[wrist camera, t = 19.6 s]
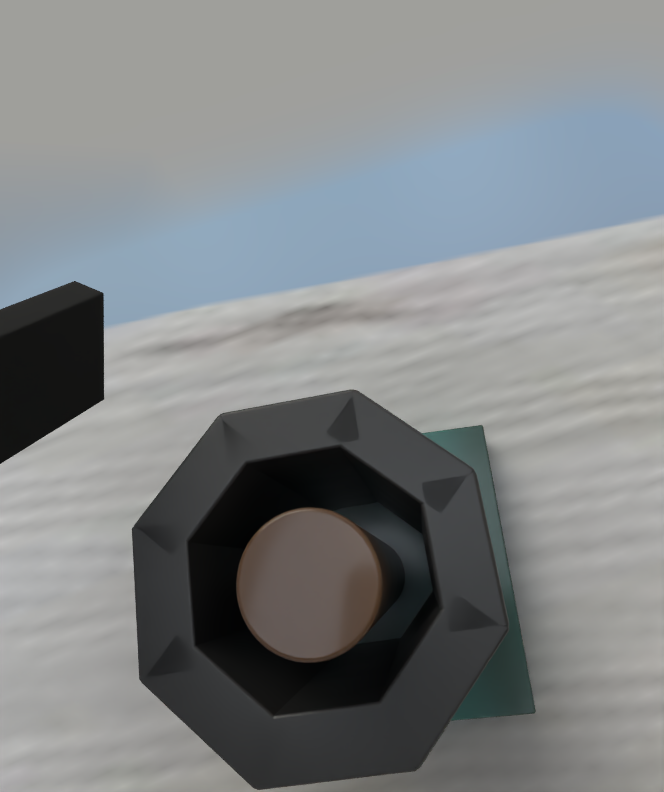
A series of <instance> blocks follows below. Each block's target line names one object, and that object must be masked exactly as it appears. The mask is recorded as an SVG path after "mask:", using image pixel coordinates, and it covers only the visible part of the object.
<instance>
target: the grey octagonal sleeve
mask: <svg viewBox="0 0 664 792" xmlns="http://www.w3.org/2000/svg"><path fill="white" fill-rule="evenodd" d="M377 502H379V503H380V504H381V505H383V506H384V507H385V508H387V509H388V510H390V511H391V512H392V513H394V514H395V515H397V516H398V517H399V518H401V519H402V520H403V521H405V522H406V523H408V524H409V525H410V526H412V527H413V528H415V529H416V530H417V531H419V532H420V533H421V534H423V540H424V545H425V550H426V556H427V561H428V566H429V572H430V577H431V583H432V588H433V591H432V593H431V594H430V596H429V597H428V599H427V600H426V602H425V603H424V605H423V606H422V607H421V609H420V610H419V612H418V613H417V615H416V616H415V618H414V619H413V621H412V622H411V624H410V625H409V627H408V628H407V630H406V631H405V633H404V634H403V636H402V637H401V638H396V639H389V640H382V641H375V642H368V643H361V644H356V645H355V646H354V647H353V648H352V649H350V650H349V651H347V652H346V653H344V654H342V655H340V656H338V657H336V658H333V659H330V660H327V661H323V662H317V663H302V662H295V661H291V660H287V659H285V658H282V657H280V656H278V655H276V654H274V653H273V652H271V651H269V650H268V649H267V648H265V647H264V646H263V645H262V644H261V643H260V642H259V641H258V640H257V639H256V638H255V637H254V636H253V634H252V633H251V632H250V630H249V629H248V627H247V625H246V623H245V621H244V620H243V617H242V614H241V612H240V609H239V605H238V600H237V592H236V579H237V571H238V567H239V563H240V560H241V557H242V554H243V552H244V550H245V548H246V546H247V544H248V542H249V541H250V540H251V538H252V537H253V535H254V534H255V533H256V532H257V531H258V530H259V529H260V528H261V527H262V526H263V525H264V524H265V523H266V522H268V521H269V520H271V519H272V518H274V517H275V516H277V515H279V514H281V513H283V512H286V511H289V510H292V509H298V508H306V507H314V508H323V509H327V510H335V509H341V508H347V507H353V506H359V505H365V504H371V503H377ZM132 539H133V559H134V580H135V600H136V620H137V640H138V660H139V679H140V680H141V682H142V683H143V684H144V685H145V686H146V687H147V688H148V689H149V690H150V691H151V692H152V693H153V694H154V695H155V696H156V697H158V698H159V699H160V700H161V701H162V702H163V703H164V704H165V705H166V706H167V707H168V708H169V709H170V710H171V711H172V712H173V713H174V714H176V715H177V716H178V717H179V718H180V719H181V720H182V721H183V722H184V723H185V724H186V725H187V726H188V727H189V728H190V729H191V730H192V731H194V732H195V733H196V734H197V735H198V736H199V737H200V738H201V739H202V740H203V741H204V742H205V743H206V744H207V745H208V746H209V747H210V748H212V749H213V750H214V751H215V752H216V753H217V754H218V755H219V756H220V757H221V758H222V759H223V760H224V761H225V762H226V763H227V764H228V765H230V766H231V767H232V768H233V769H234V770H235V771H236V772H237V773H238V774H239V775H240V776H241V777H242V778H243V779H244V780H245V781H246V782H248V783H249V784H250V785H251V786H252V787H253V788H255V789H257V790H263V789H271V788H279V787H288V786H296V785H304V784H312V783H321V782H329V781H337V780H345V779H354V778H362V777H370V776H378V775H387V774H395V773H403V772H411V771H416V770H417V769H419V768H420V767H421V765H422V764H423V762H424V761H425V759H426V758H427V756H428V755H429V753H430V752H431V750H432V748H433V747H434V745H435V744H436V742H437V741H438V739H439V738H440V736H441V735H442V733H443V731H444V730H445V728H446V727H447V725H448V724H449V722H450V721H451V719H452V718H453V716H454V715H455V713H456V711H457V710H458V708H459V707H460V705H461V704H462V702H463V701H464V699H465V698H466V696H467V694H468V693H469V691H470V690H471V688H472V687H473V685H474V684H475V682H476V681H477V679H478V678H479V676H480V674H481V673H482V671H483V670H484V668H485V667H486V665H487V664H488V662H489V661H490V659H491V658H492V656H493V654H494V653H495V651H496V650H497V648H498V647H499V645H500V644H501V642H502V641H503V639H504V637H505V636H506V634H507V633H508V631H509V620H508V616H507V611H506V606H505V602H504V597H503V593H502V588H501V583H500V579H499V574H498V570H497V565H496V560H495V556H494V551H493V547H492V542H491V537H490V533H489V528H488V524H487V519H486V514H485V510H484V505H483V501H482V496H481V491H480V487H479V482H478V478H477V474H476V472H475V470H474V469H473V467H471V466H470V465H468V464H467V463H465V462H464V461H462V460H461V459H459V458H458V457H456V456H455V455H453V454H452V453H450V452H449V451H447V450H446V449H444V448H443V447H441V446H440V445H438V444H437V443H435V442H434V441H432V440H431V439H429V438H428V437H426V436H425V435H423V434H422V433H420V432H419V431H417V430H416V429H414V428H413V427H411V426H410V425H408V424H407V423H405V422H404V421H402V420H401V419H399V418H398V417H396V416H395V415H393V414H392V413H390V412H389V411H387V410H386V409H384V408H383V407H381V406H380V405H378V404H377V403H375V402H374V401H372V400H371V399H369V398H368V397H366V396H365V395H363V394H362V393H360V392H359V391H357V390H346V391H341V392H335V393H330V394H324V395H319V396H314V397H308V398H303V399H297V400H292V401H286V402H281V403H276V404H270V405H265V406H259V407H254V408H248V409H243V410H238V411H232V412H227V413H222V414H220V415H219V416H218V417H217V418H216V419H215V421H214V422H213V423H212V425H211V426H210V427H209V429H208V430H207V431H206V432H205V434H204V435H203V436H202V438H201V439H200V440H199V442H198V443H197V444H196V446H195V447H194V448H193V449H192V451H191V452H190V453H189V455H188V456H187V457H186V459H185V460H184V461H183V462H182V464H181V465H180V466H179V468H178V469H177V470H176V472H175V473H174V474H173V475H172V477H171V478H170V479H169V481H168V482H167V483H166V485H165V486H164V487H163V488H162V490H161V491H160V492H159V494H158V495H157V496H156V498H155V499H154V500H153V502H152V503H151V504H150V505H149V507H148V508H147V509H146V511H145V512H144V513H143V515H142V516H141V517H140V518H139V520H138V521H137V522H136V524H135V525H134V527H133V528H132Z"/></svg>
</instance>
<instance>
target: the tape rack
mask: <svg viewBox="0 0 664 792" xmlns="http://www.w3.org/2000/svg"><path fill="white" fill-rule="evenodd" d="M422 434H423V435H425V436H426V437H428V438H429V439H431V440H432V441H434V442H435V443H437V444H438V445H440V446H441V447H443V448H444V449H446V450H447V451H449V452H450V453H452V454H453V455H455V456H456V457H458V458H459V459H461V460H462V461H464V462H465V463H467V464H468V465H470V466H471V467H473V469H474V470H475V472H476V474H477V478H478V482H479V487H480V491H481V496H482V501H483V505H484V510H485V514H486V519H487V524H488V528H489V533H490V537H491V542H492V547H493V551H494V556H495V560H496V565H497V570H498V574H499V579H500V583H501V588H502V593H503V597H504V602H505V606H506V611H507V616H508V620H509V631H508V633H507V634H506V636H505V637H504V639H503V641H502V642H501V644H500V645H499V647H498V648H497V650H496V651H495V653H494V654H493V656H492V658H491V659H490V661H489V662H488V664H487V665H486V667H485V668H484V670H483V671H482V673H481V674H480V676H479V678H478V679H477V681H476V682H475V684H474V685H473V687H472V688H471V690H470V691H469V693H468V694H467V696H466V698H465V699H464V701H463V702H462V704H461V705H460V707H459V708H458V710H457V711H456V713H455V715H454V716H453V718H452V719H451V721H454V720H466V719H477V718H489V717H500V716H512V715H524V714H534V713H535V712H536V711H535V705H534V700H533V694H532V689H531V684H530V678H529V673H528V667H527V662H526V657H525V651H524V646H523V640H522V635H521V629H520V624H519V619H518V613H517V608H516V602H515V597H514V592H513V586H512V581H511V575H510V570H509V565H508V559H507V554H506V548H505V543H504V538H503V532H502V527H501V521H500V516H499V511H498V505H497V500H496V494H495V489H494V484H493V478H492V473H491V467H490V462H489V457H488V451H487V446H486V440H485V435H484V430H483V426H482V425H479V426H472V427H464V428H457V429H450V430H443V431H435V432H428V433H422ZM432 591H433V588H432V583H431V577H430V572H429V566H428V561H427V556H426V550H425V545H424V540H423V534H421V533H420V532H419V531H417V530H416V529H415V528H413V527H412V526H410V525H409V524H408V523H406V522H405V521H403V520H402V519H401V518H399V517H398V516H397V515H395V514H394V513H392V512H391V511H390V510H388V509H387V508H385V507H384V506H383V505H381V504H380V503H379V502H377V503H371V504H365V505H359V506H353V507H347V508H341V509H335V510H327V509H323V508H314V507H306V508H298V509H292V510H289V511H286V512H283V513H281V514H279V515H277V516H275V517H274V518H272V519H271V520H269V521H268V522H266V523H265V524H264V525H263V526H262V527H261V528H260V529H259V530H258V531H257V532H256V533H255V534H254V535H253V537H252V538H251V540H250V541H249V542H248V544H247V546H246V548H245V550H244V552H243V554H242V557H241V560H240V563H239V567H238V571H237V579H236V592H237V600H238V605H239V609H240V612H241V614H242V617H243V620H244V621H245V623H246V625H247V627H248V629H249V630H250V632H251V633H252V634H253V636H254V637H255V638H256V639H257V640H258V641H259V642H260V643H261V644H262V645H263V646H264V647H265V648H267V649H268V650H269V651H271V652H273V653H274V654H276V655H278V656H280V657H282V658H285V659H287V660H291V661H295V662H302V663H317V662H323V661H327V660H330V659H333V658H336V657H338V656H340V655H342V654H344V653H346V652H347V651H349V650H350V649H352V648H353V647H354V646H355V645H356V644H361V643H368V642H375V641H382V640H389V639H396V638H401V637H402V636H403V634H404V633H405V631H406V630H407V628H408V627H409V625H410V624H411V622H412V621H413V619H414V618H415V616H416V615H417V613H418V612H419V610H420V609H421V607H422V606H423V605H424V603H425V602H426V600H427V599H428V597H429V596H430V594H431V593H432Z"/></svg>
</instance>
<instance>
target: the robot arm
mask: <svg viewBox="0 0 664 792" xmlns="http://www.w3.org/2000/svg"><path fill="white" fill-rule="evenodd" d="M103 301H104V300H103V293H102V292H100V291H97V290H95V289H92V288H90V287H88V286H85V285H83V284H81V283H78V282H76V281H74V282H71V283H68V284H66V285H64V286H61V287H58V288H55V289H53V290H50V291H47V292H45V293H42V294H40V295H37V296H34V297H32V298H29V299H26V300H24V301H21V302H19V303H16V304H13V305H11V306H8V307H5V308H3V309H1V310H0V464H1V463H2V462H4V461H6V460H7V459H9V458H10V457H12V456H14V455H15V454H17V453H18V452H20V451H22V450H23V449H25V448H26V447H28V446H30V445H31V444H33V443H34V442H36V441H38V440H39V439H41V438H43V437H44V436H46V435H47V434H49V433H51V432H52V431H54V430H55V429H57V428H59V427H60V426H62V425H63V424H65V423H67V422H68V421H70V420H72V419H73V418H75V417H76V416H78V415H80V414H81V413H83V412H84V411H86V410H88V409H89V408H91V407H92V406H94V405H96V404H97V403H99V402H100V401H102V400H104V323H103V322H104V307H103V306H104V305H103Z"/></svg>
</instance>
